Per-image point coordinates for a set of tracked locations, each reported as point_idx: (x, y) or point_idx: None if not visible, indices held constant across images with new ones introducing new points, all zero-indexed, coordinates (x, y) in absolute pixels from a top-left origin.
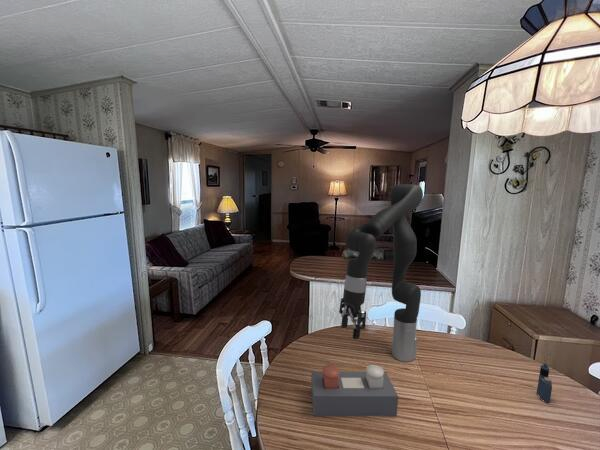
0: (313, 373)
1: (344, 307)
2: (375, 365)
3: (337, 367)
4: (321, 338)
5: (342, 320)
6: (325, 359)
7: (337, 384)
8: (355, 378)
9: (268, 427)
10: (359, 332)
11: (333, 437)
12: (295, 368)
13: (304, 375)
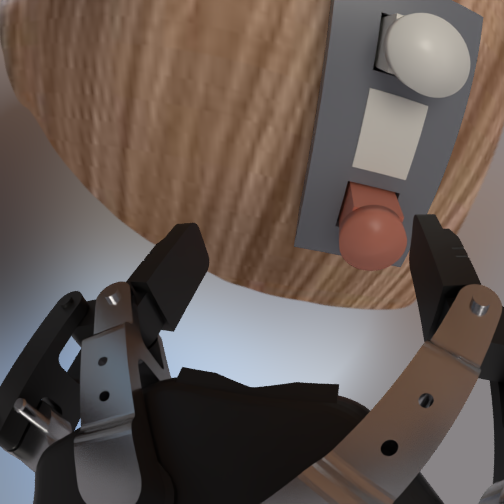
0: (304, 243)
1: (65, 375)
2: (399, 30)
3: (370, 218)
4: (62, 136)
5: (180, 312)
6: (156, 136)
7: (398, 204)
8: (369, 111)
9: (381, 302)
10: (472, 273)
11: (455, 207)
12: (206, 227)
13: (237, 211)
